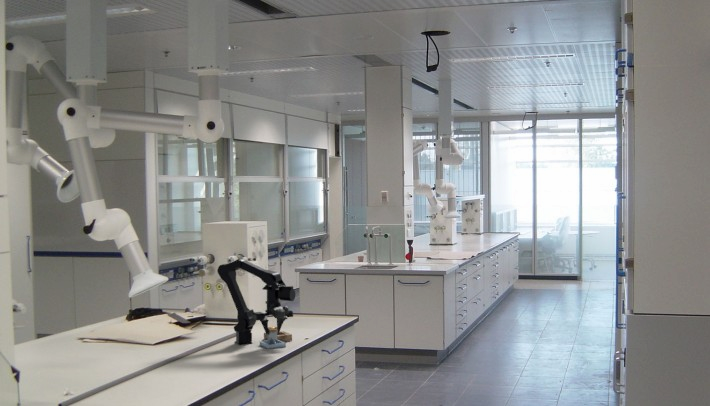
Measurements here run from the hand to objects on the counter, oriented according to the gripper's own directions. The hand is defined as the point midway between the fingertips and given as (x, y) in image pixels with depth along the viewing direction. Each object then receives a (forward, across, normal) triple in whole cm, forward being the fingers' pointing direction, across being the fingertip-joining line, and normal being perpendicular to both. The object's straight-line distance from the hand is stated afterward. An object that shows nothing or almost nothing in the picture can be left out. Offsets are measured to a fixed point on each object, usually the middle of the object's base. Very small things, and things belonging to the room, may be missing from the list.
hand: (272, 333), depth 339 cm
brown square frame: (+6, +8, +10) cm, 14 cm away
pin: (+6, 0, 0) cm, 6 cm away
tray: (+6, 0, 0) cm, 6 cm away
